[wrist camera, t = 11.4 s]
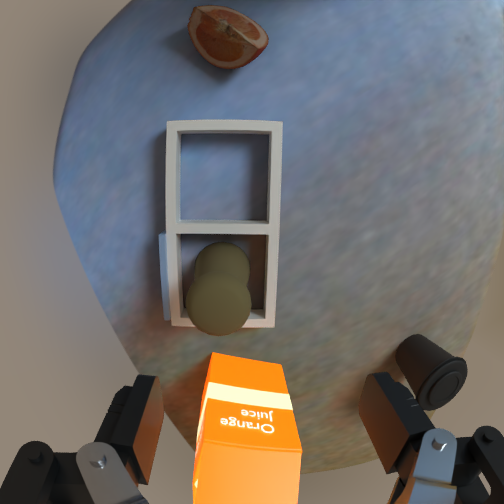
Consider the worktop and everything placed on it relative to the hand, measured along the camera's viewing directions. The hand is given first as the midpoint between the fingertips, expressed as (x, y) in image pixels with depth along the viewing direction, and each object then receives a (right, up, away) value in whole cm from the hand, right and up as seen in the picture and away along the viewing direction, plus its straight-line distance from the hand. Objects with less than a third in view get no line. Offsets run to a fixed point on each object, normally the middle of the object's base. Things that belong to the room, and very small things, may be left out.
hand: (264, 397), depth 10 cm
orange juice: (-2, -11, +26) cm, 29 cm away
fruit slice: (-3, +28, +17) cm, 33 cm away
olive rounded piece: (-4, +4, +23) cm, 23 cm away
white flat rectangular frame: (-4, +8, +21) cm, 23 cm away
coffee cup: (+22, -8, +27) cm, 36 cm away
